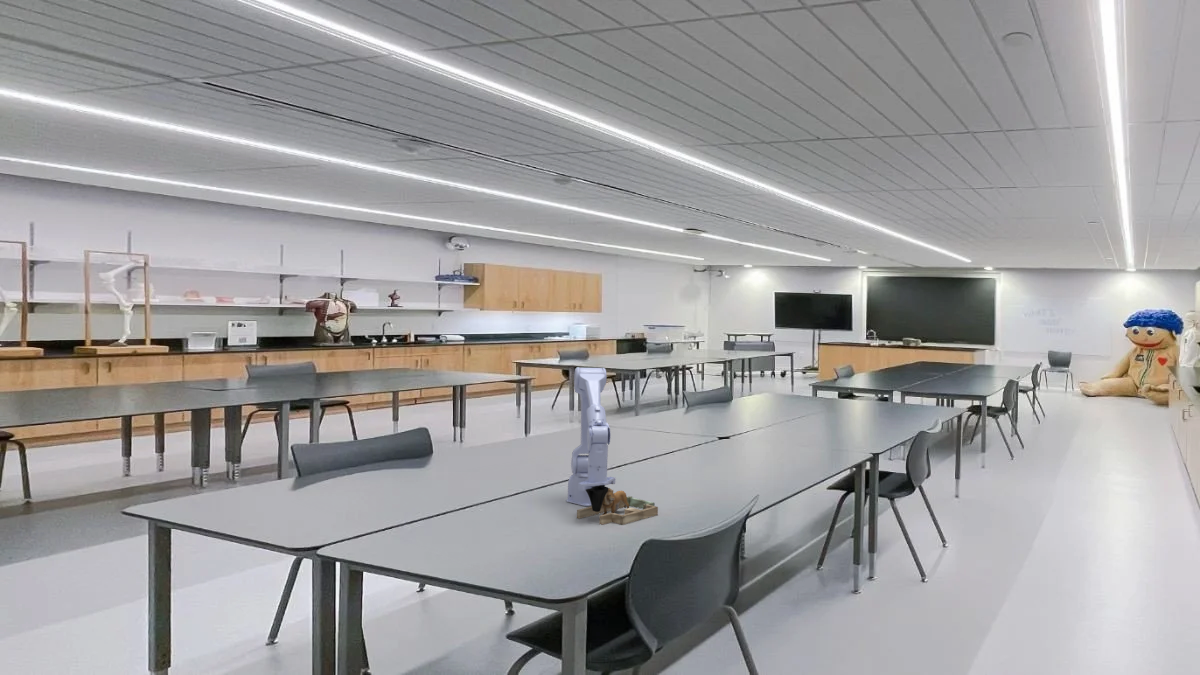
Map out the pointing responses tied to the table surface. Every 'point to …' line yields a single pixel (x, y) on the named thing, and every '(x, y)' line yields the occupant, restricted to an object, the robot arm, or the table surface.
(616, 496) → the lion figurine
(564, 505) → the table surface
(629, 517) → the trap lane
